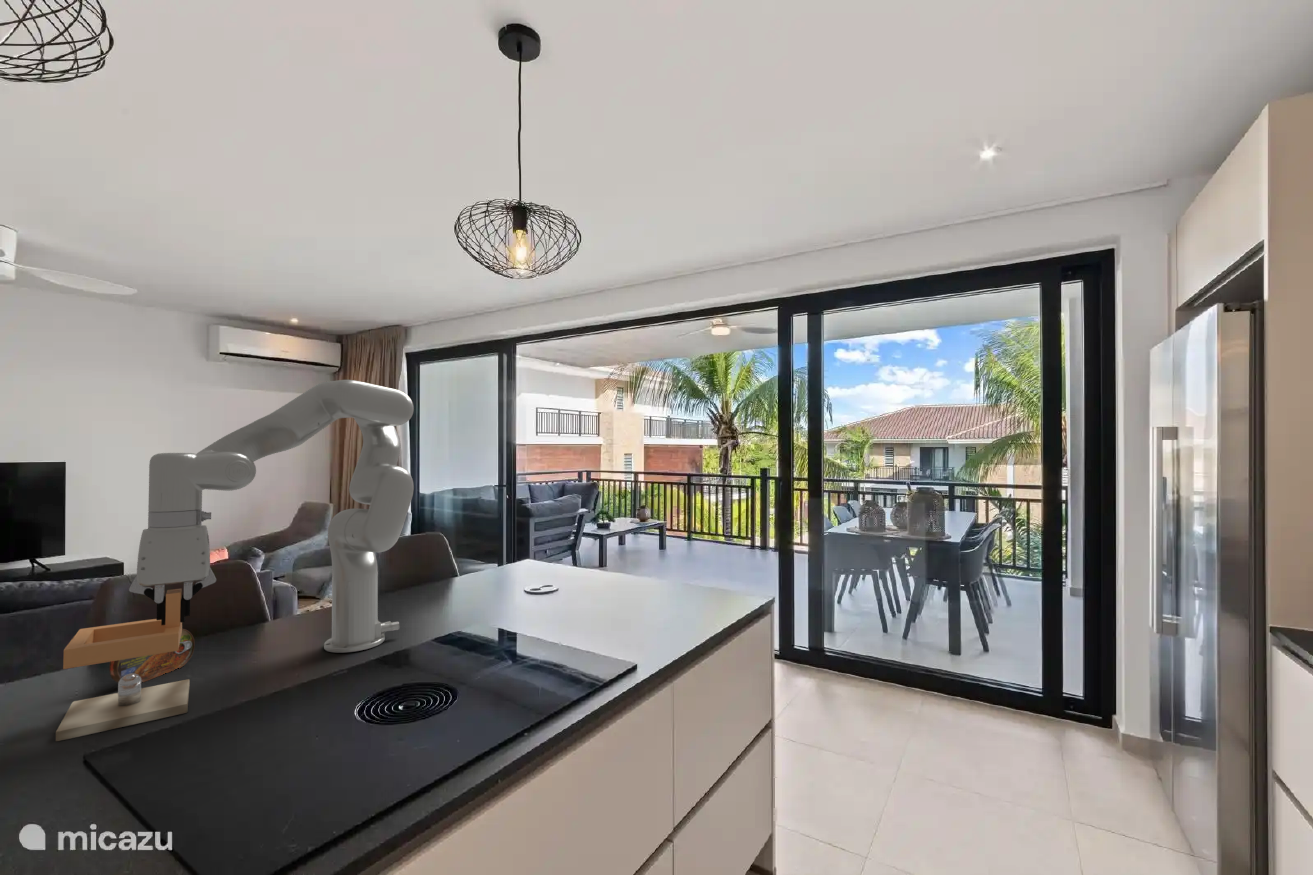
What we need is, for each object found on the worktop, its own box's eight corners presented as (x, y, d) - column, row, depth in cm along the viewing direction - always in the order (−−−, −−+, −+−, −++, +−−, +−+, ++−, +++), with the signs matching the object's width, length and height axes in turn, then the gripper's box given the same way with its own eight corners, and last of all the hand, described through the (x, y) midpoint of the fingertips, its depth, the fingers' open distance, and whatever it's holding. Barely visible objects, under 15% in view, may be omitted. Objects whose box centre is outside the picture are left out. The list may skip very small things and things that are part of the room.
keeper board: (189, 686, 111) (189, 679, 111) (187, 712, 100) (187, 703, 100) (72, 710, 102) (72, 701, 102) (55, 741, 91) (55, 732, 91)
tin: (118, 692, 110) (118, 647, 110) (105, 690, 110) (105, 646, 110) (196, 663, 124) (196, 623, 124) (184, 662, 125) (184, 623, 125)
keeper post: (141, 697, 103) (142, 669, 103) (140, 703, 101) (140, 674, 101) (119, 702, 101) (119, 673, 101) (116, 708, 99) (117, 678, 99)
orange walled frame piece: (181, 631, 111) (182, 583, 111) (178, 650, 100) (179, 598, 100) (79, 646, 102) (80, 594, 103) (63, 669, 91) (64, 611, 91)
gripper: (229, 515, 113) (227, 610, 113) (118, 521, 103) (116, 625, 103) (230, 519, 107) (228, 619, 107) (113, 525, 97) (110, 635, 97)
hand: (173, 621), depth 105 cm, fingers closed on orange walled frame piece
